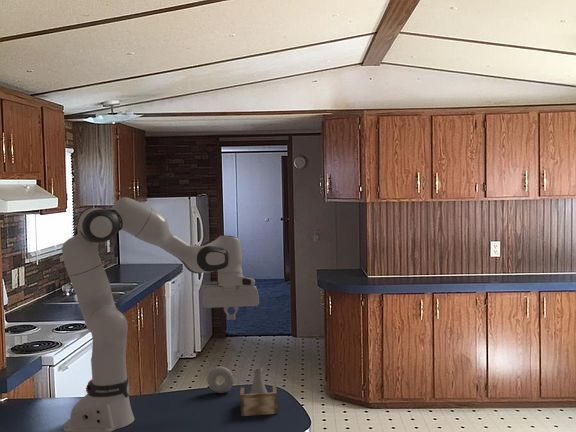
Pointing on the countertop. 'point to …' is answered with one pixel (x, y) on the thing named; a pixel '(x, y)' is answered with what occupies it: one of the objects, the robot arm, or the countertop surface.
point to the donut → (214, 384)
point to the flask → (258, 383)
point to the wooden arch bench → (258, 403)
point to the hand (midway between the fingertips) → (231, 319)
